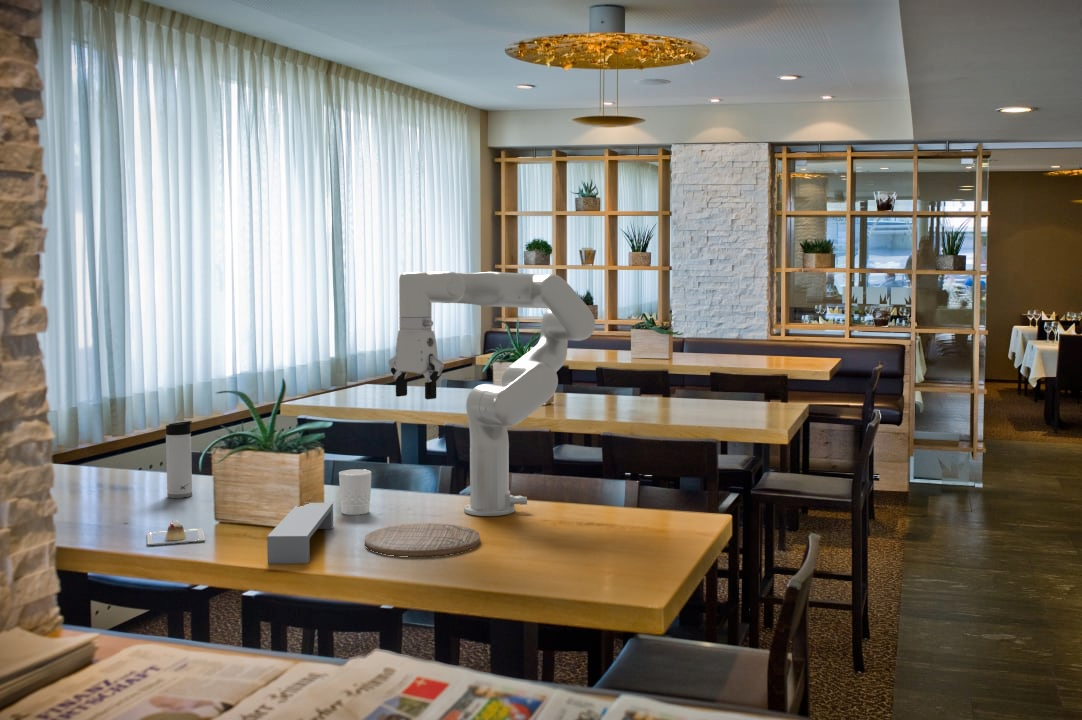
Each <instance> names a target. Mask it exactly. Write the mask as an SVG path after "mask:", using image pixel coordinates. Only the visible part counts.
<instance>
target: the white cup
mask: <svg viewBox="0 0 1082 720" xmlns="http://www.w3.org/2000/svg"><path fill="white" fill-rule="evenodd" d="M338 480H339V483H338V484H339V495H340V503H341V504H340V505H341V507H340V508H341V513H342V514H343V515H346V516H347V515H349V516H360V514H362V515H365V514H369V513H370V511H371V509H370V507H371V506H370V505H371V494H372V493H371V492H372V471H371V470H368V469H347V470H342V471H339V472H338Z"/></svg>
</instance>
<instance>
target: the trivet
mask: <svg viewBox="0 0 1082 720" xmlns="http://www.w3.org/2000/svg"><path fill="white" fill-rule="evenodd" d="M480 536H481V535H480V533H479V532H478V530H475V529H474V528H469V527H467V526H462V525H457V524H448V523H433V522H432V523H431V522H430V523H409V524H408V523H407V524H399V525H391V526H387V527H382V528H378V529H376V530H373V531H370V532H368V533H367V534H366V535H365V536H364V547H365V546H366V547H367V548H368V549H369V550H372V551H374V552H378V553H382V554H386V555H394V556H408V557H426V558H433V557H432V556H440V557H446V556H445V555H448V556H451V555H450V554H454V555H458V554H457V553H460V554H462V553H461V552H463V553H466V552H465V551H467V552H469V551H468V550H470V549H472V550H474V549H476V548H477V547H479V545H480V544H481V542H480V541H481V537H480ZM479 543H480V544H479ZM366 547H365V548H366ZM475 547H476V548H475ZM367 548H366V549H367ZM473 548H474V549H473ZM368 549H367V550H368ZM369 550H368V551H369ZM372 551H371V552H372ZM470 551H471V550H470ZM374 552H373V553H374ZM386 555H385V556H386ZM394 556H393V557H394Z"/></svg>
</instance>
